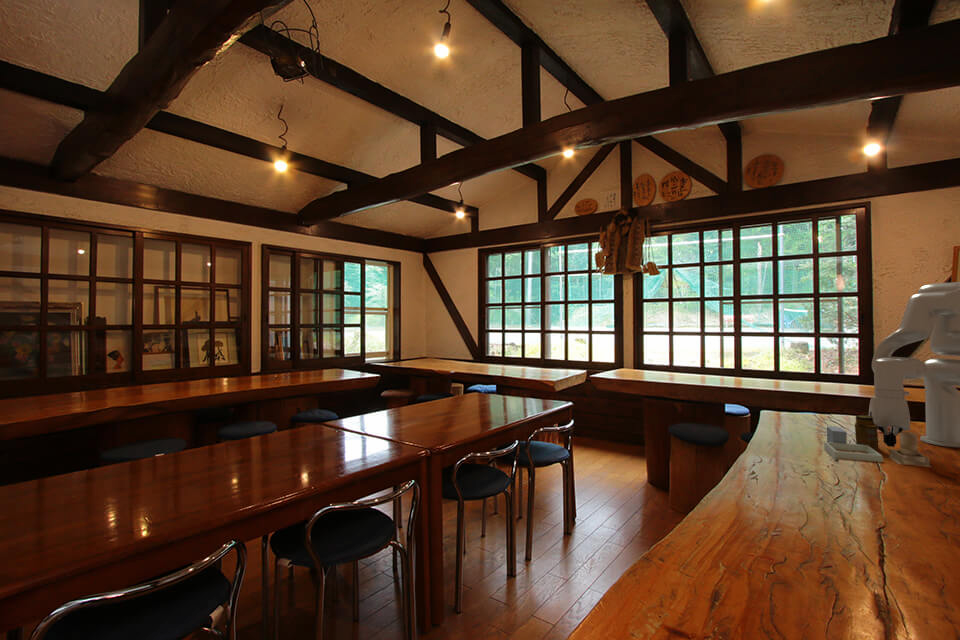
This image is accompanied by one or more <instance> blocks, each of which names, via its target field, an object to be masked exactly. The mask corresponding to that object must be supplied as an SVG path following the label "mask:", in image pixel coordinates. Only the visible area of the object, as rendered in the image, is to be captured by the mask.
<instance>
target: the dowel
mask: <svg viewBox="0 0 960 640" xmlns="http://www.w3.org/2000/svg"><path fill="white" fill-rule="evenodd" d="M899 443H900V444H899V447H900V448H899V450H900V454H901V455H906V456H917V457H918V452H919V451H918V449H919V448H918V434H916V433H915V432H914V433H913V432H907V431H902V432H900V433H899Z"/></svg>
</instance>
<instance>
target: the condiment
mask: <svg viewBox="0 0 960 640" xmlns="http://www.w3.org/2000/svg"><path fill="white" fill-rule="evenodd" d="M872 420H873V419H872V416H871V417H869V415H864V414H860V415H856V416H855V422H854V432H855V444H858V445H868V446H870V447H871V448H872V449H874V450H875V451H877V450H879V447H880V446H879V437H878V436H879V435H878V434H879V433H878V429H877V426H876V425H875V424H873V421H872Z"/></svg>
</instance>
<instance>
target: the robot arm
mask: <svg viewBox="0 0 960 640" xmlns="http://www.w3.org/2000/svg"><path fill="white" fill-rule="evenodd" d="M927 338H930V339H929V348H930V350H931V352H932V353H933V354H936V355H938V356H939V355H940V356H949V357H950V356H951V357H960V281H955V282H954V281H953V282H939V283H938V282H937V283H929V284H925V285H923V286H921V287H919V289H918V293H916V294H913V295H911V296H910V297H909V299H908V301H907V304H906V306H905V310H904V312H903V315H902V318H901V321H900V325H899V327H898V329H896V331H894V332H892V333H891V334H889V335H888V336H886V337H885V338H884V339H882V341H881V342H880V343H878V345H877V346H876V348H875V351H874V354H873V357H872V361H871V370H872V371H873V379H874V381H873V382H874V384H873V385H874V386H873V387H874V395H872V396H871V397H870V401H869V407H868V409H869V410H868V416H869V417H871V416H872V419H873V420H872V421H873V424H875V425H876V426H877V431H878V430H879V431H880V432H881V433H882V434H883V435H882V436H883V441H882V442H883V444H885V445H886V446H888V447H889V448H890V447H891V448H895V447H896V446H895V445H897V436H898V435H900V432H907V431H910V430H911V427H910V426H911V416H910V409H909V405H908V401H907V399H906V398H905V397H906V396H909V395H910V393H909V392H910V391H907V390H904V380H918V379H921V378H922V380H923V383H924V393H925V397H924V398H925V399H924V400H925V435H921V436H920V437H919V439H920V441H922V442H923V443H925V444H930V445H935V446H942V447H948V448H959V449H960V391H959V390H958V389H957V388H956V387H957V386H958V387H960V359H954V358H953V359H949V358H930V359H927V360H925V361H923V360H920V359H918V358H914V357H905V356H904V357H903V356H901V357H900V356H892V355H893V354H894V352H895V351H897V350H898V349H899V348H901V347H902V348H903V346H906V345H910V344H912V343H916V342H918V341H919V342H920V341H922V340H923V341H924V340H925V339H927ZM889 427H890V431H889Z"/></svg>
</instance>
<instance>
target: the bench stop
mask: <svg viewBox="0 0 960 640" xmlns="http://www.w3.org/2000/svg"><path fill="white" fill-rule="evenodd" d="M826 442H833V443H845V444H848V443H847V442H848V441H847V431H846V430H845V429H843V428H842V427H840V426H830V425H829V426H826Z"/></svg>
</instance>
